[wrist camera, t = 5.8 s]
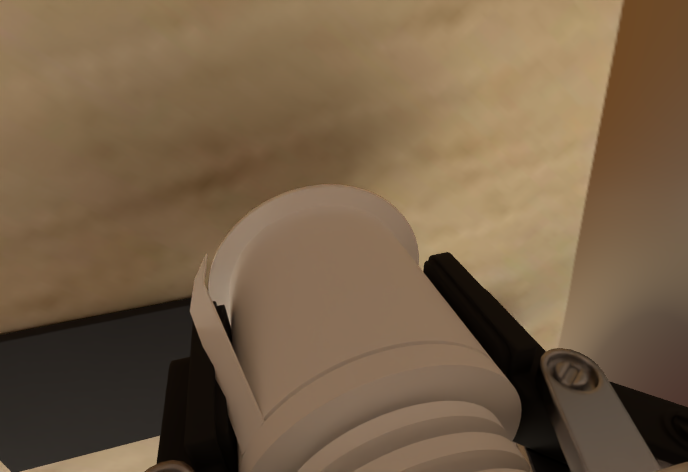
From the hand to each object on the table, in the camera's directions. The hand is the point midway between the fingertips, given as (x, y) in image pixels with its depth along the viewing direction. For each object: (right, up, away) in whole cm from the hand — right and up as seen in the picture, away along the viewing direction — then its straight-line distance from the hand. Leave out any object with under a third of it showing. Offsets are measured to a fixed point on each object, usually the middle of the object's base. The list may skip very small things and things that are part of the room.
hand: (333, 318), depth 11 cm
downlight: (-1, +1, +2) cm, 2 cm away
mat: (-9, -5, +11) cm, 16 cm away
